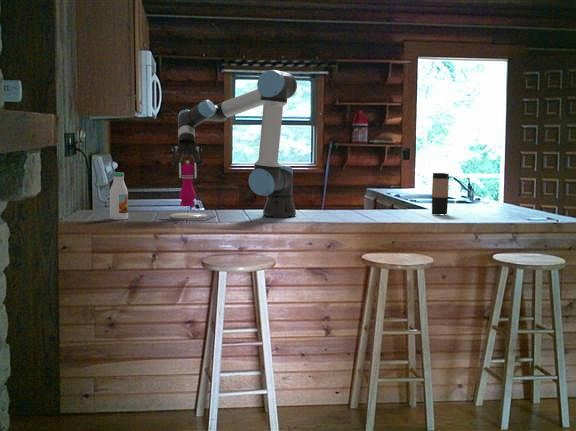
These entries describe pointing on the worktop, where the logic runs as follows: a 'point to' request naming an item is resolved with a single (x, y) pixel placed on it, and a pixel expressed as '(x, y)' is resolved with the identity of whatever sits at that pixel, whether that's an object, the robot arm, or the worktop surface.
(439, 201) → the travel mug
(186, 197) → the pepper mill
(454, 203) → the worktop surface
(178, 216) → the plate
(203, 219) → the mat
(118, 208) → the milk bottle
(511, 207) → the worktop surface
